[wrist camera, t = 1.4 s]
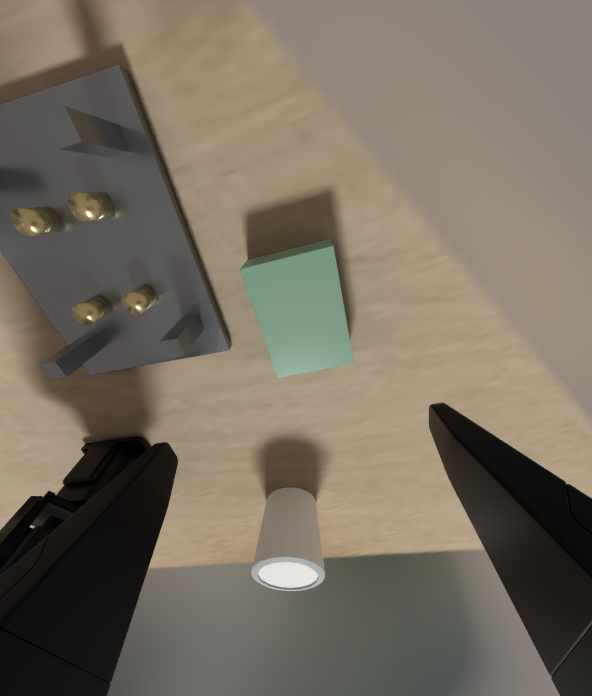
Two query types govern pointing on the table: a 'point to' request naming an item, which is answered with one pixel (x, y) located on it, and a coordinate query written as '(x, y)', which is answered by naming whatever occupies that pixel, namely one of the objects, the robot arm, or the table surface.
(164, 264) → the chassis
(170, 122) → the table surface
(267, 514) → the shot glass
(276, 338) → the green rectangular block
